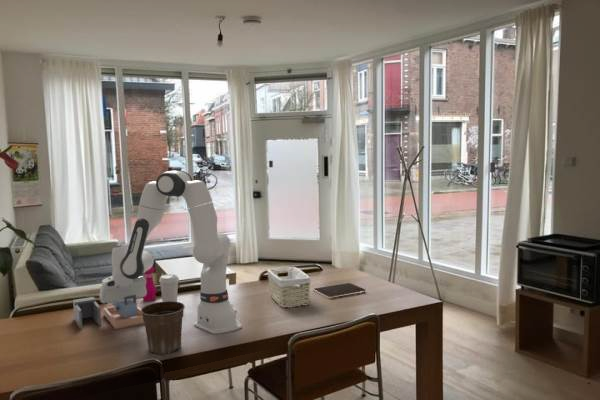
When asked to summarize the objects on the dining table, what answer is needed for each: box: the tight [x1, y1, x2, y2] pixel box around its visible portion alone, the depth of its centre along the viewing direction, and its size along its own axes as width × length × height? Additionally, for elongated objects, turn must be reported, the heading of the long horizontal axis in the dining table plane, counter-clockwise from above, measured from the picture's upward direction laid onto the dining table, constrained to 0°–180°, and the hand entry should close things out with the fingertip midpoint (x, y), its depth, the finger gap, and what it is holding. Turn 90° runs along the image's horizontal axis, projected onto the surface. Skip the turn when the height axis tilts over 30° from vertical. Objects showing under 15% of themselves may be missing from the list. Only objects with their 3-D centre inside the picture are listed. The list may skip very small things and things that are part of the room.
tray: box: [103, 305, 145, 330], centre depth 219 cm, size 22×14×4 cm, turn 34°
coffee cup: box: [158, 273, 180, 302], centre depth 237 cm, size 10×10×15 cm
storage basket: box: [267, 266, 312, 308], centre depth 244 cm, size 24×16×15 cm
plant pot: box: [140, 301, 186, 355], centre depth 186 cm, size 16×16×16 cm
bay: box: [72, 296, 102, 330], centre depth 216 cm, size 14×9×9 cm, turn 34°
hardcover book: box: [313, 282, 367, 297], centre depth 260 cm, size 16×23×2 cm
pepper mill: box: [142, 265, 157, 302], centre depth 248 cm, size 7×7×20 cm
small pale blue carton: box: [115, 295, 138, 319], centre depth 219 cm, size 12×5×10 cm, turn 45°
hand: (124, 308), depth 220 cm, fingers closed on small pale blue carton, 5 cm apart
